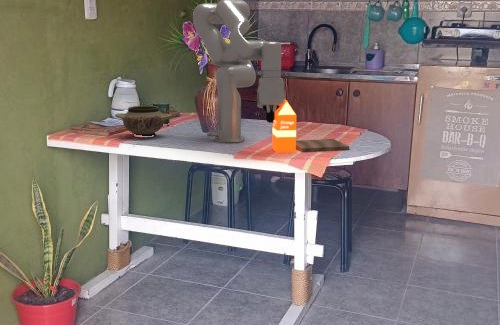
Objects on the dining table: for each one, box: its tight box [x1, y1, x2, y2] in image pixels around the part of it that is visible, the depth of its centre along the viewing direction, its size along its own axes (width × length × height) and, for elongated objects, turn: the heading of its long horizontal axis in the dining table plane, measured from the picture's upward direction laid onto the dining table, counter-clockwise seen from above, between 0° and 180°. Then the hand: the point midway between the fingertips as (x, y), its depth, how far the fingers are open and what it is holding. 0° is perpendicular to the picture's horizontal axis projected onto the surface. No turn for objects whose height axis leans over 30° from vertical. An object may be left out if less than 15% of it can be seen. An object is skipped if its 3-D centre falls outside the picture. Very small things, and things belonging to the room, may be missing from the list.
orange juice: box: [271, 99, 297, 153], centre depth 233 cm, size 8×9×20 cm
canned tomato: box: [152, 101, 171, 124], centre depth 288 cm, size 8×8×11 cm
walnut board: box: [296, 138, 350, 153], centre depth 241 cm, size 20×16×2 cm
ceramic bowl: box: [114, 105, 173, 136], centre depth 259 cm, size 24×18×15 cm
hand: (270, 122), depth 231 cm, fingers closed
